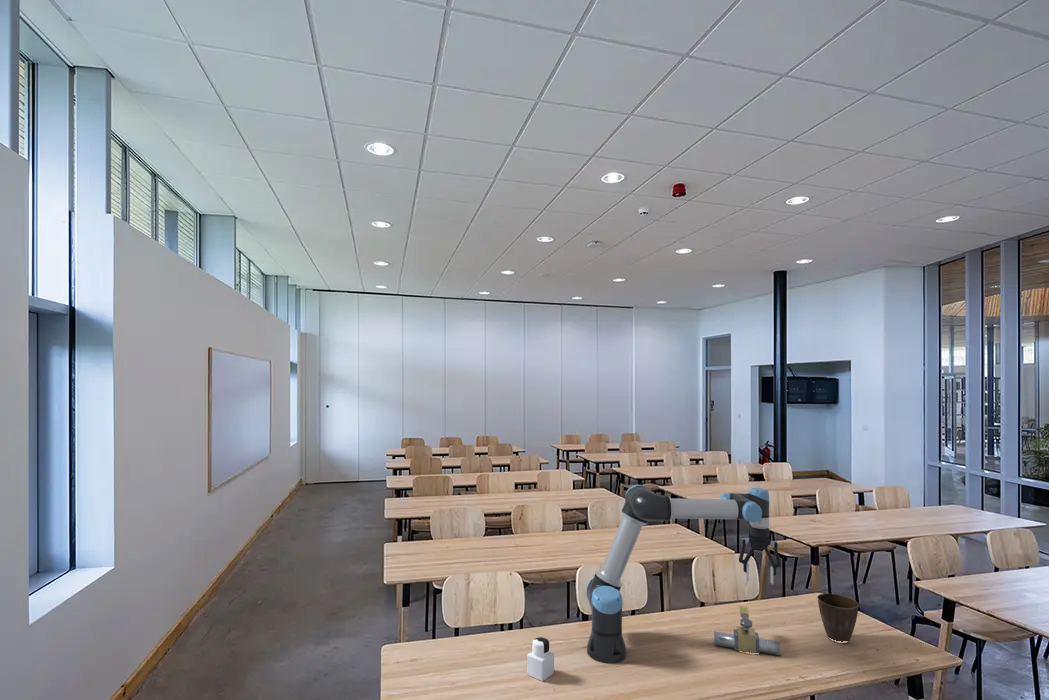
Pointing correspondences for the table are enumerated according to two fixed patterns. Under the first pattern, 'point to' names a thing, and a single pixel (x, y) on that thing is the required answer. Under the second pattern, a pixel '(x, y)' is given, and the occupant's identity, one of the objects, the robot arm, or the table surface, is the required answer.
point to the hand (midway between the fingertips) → (759, 581)
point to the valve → (746, 641)
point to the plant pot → (838, 615)
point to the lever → (745, 617)
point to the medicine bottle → (540, 660)
